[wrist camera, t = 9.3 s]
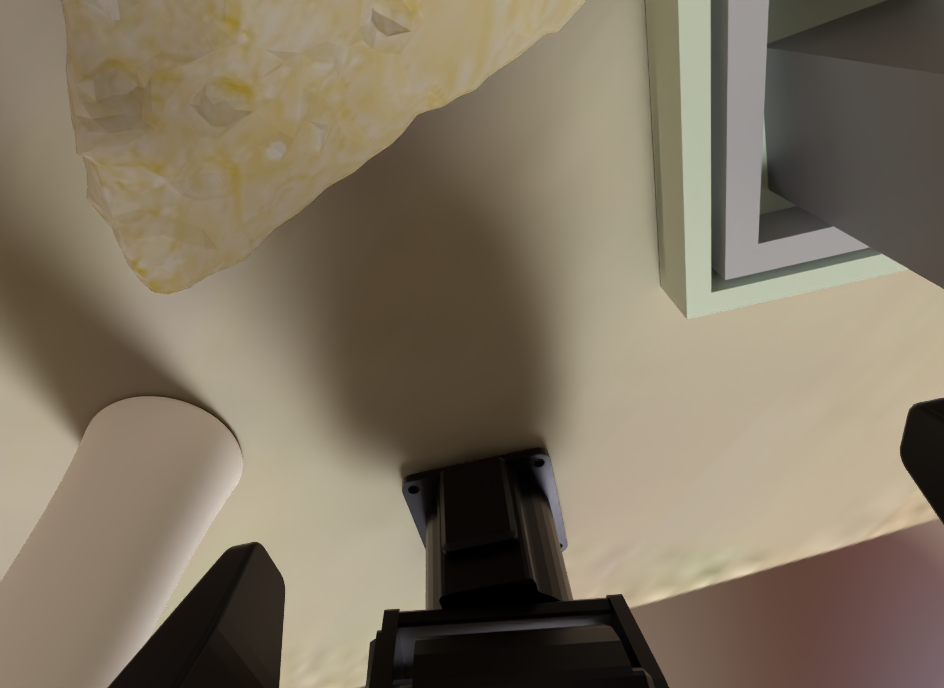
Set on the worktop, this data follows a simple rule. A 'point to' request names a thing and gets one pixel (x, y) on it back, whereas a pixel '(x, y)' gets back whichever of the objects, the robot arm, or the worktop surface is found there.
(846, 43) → the plug
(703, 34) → the box
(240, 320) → the worktop surface
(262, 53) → the cheese
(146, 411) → the cosmetic bottle
